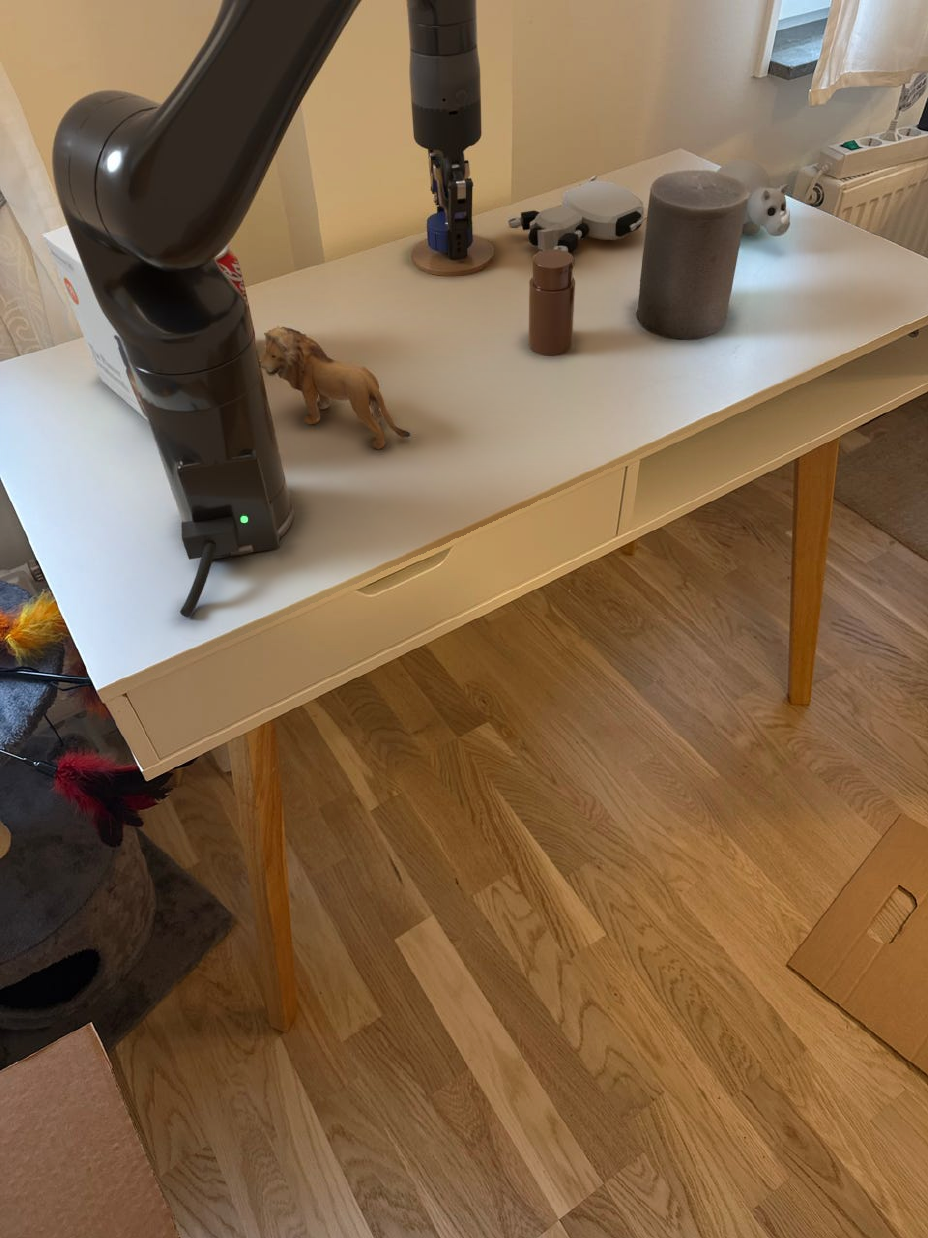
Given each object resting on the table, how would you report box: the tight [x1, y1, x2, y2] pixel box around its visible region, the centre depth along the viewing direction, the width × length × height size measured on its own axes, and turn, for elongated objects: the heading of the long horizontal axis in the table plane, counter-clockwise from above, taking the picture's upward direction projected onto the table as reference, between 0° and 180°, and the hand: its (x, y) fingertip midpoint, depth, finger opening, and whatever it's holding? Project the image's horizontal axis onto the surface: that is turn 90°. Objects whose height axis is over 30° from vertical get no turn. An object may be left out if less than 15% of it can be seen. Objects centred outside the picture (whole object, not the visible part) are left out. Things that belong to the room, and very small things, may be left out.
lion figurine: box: [259, 326, 412, 450], centre depth 87 cm, size 15×5×9 cm, turn 66°
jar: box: [527, 249, 576, 356], centre depth 95 cm, size 5×5×9 cm
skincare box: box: [42, 224, 148, 422], centre depth 86 cm, size 21×5×16 cm, turn 42°
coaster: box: [411, 234, 495, 277], centre depth 113 cm, size 10×10×1 cm
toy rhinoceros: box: [716, 158, 791, 237], centre depth 110 cm, size 7×12×8 cm, turn 29°
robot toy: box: [507, 175, 647, 255], centre depth 113 cm, size 12×4×15 cm
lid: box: [426, 211, 474, 253], centre depth 111 cm, size 5×5×3 cm
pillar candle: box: [636, 169, 751, 340], centre depth 96 cm, size 10×10×15 cm
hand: (452, 246), depth 112 cm, fingers closed on lid, 5 cm apart
